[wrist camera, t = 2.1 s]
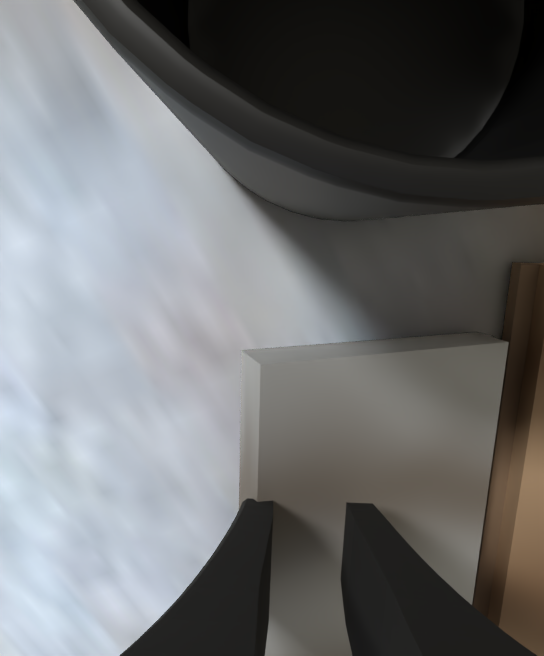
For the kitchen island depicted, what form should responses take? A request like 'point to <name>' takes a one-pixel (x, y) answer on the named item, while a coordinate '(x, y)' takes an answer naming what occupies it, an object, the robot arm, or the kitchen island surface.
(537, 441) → the board
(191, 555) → the kitchen island surface
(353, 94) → the mug
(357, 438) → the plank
